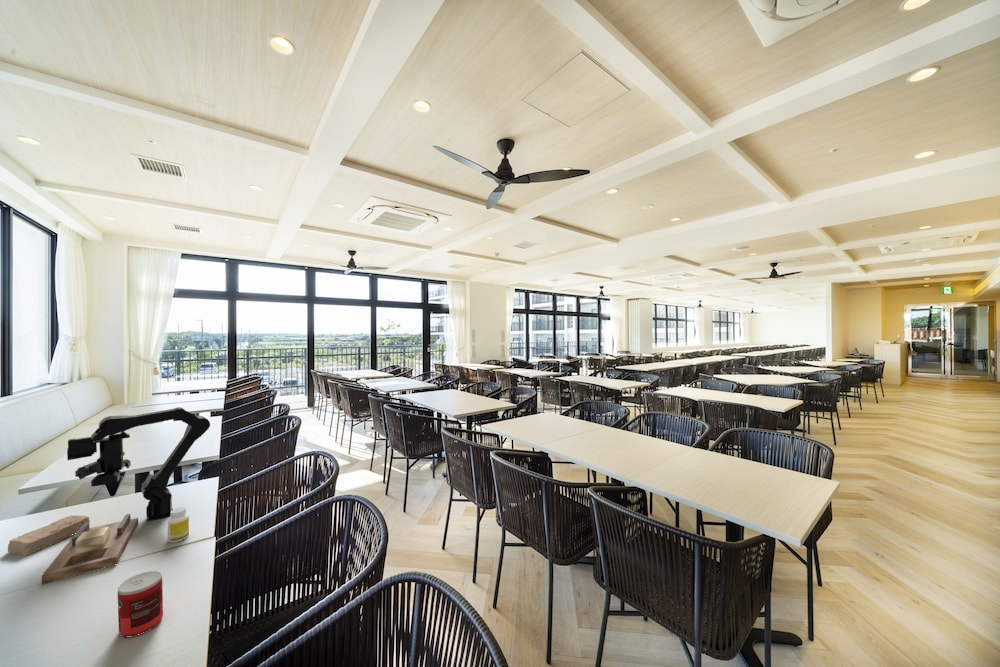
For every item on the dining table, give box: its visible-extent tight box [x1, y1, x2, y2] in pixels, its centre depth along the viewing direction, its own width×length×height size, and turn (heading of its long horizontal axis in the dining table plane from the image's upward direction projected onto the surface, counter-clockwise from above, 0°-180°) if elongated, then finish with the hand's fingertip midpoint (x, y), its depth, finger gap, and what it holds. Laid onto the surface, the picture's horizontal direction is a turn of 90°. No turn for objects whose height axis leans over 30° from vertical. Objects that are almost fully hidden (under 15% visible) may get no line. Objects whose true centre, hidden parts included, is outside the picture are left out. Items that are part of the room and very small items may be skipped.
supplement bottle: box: [167, 507, 190, 543], centre depth 127 cm, size 5×5×10 cm
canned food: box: [117, 570, 164, 638], centre depth 90 cm, size 8×8×11 cm
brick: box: [7, 514, 90, 557], centre depth 126 cm, size 17×8×5 cm, turn 171°
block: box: [76, 527, 110, 554], centre depth 118 cm, size 6×6×4 cm
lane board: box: [41, 513, 139, 585], centre depth 120 cm, size 15×28×5 cm, turn 34°
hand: (112, 495), depth 132 cm, fingers closed
